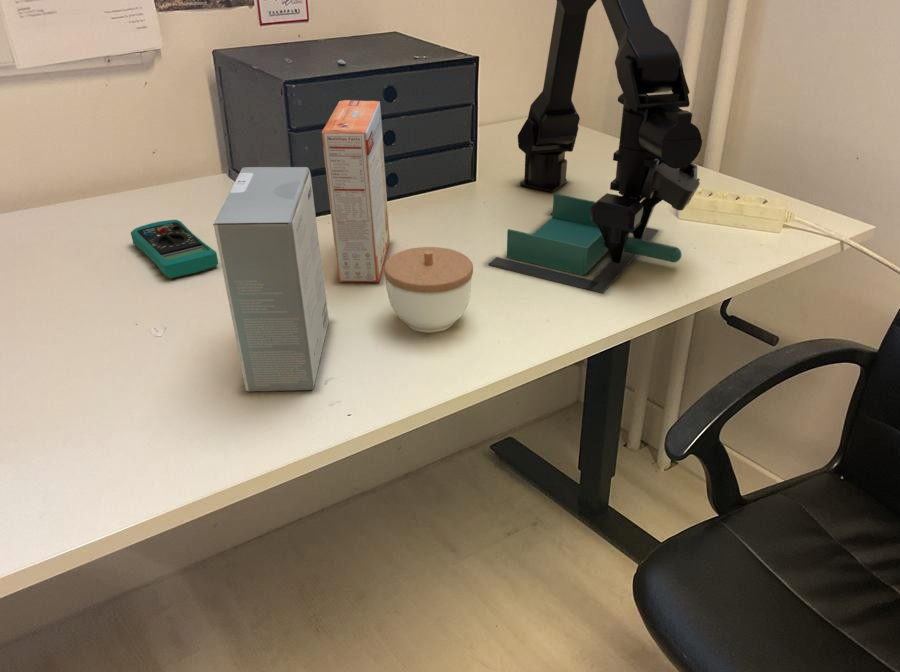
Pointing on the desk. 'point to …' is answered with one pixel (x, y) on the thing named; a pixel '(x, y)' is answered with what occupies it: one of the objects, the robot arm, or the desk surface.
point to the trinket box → (429, 287)
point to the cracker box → (357, 189)
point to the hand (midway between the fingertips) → (627, 250)
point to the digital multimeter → (174, 248)
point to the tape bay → (596, 284)
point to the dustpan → (575, 240)
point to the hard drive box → (274, 277)
